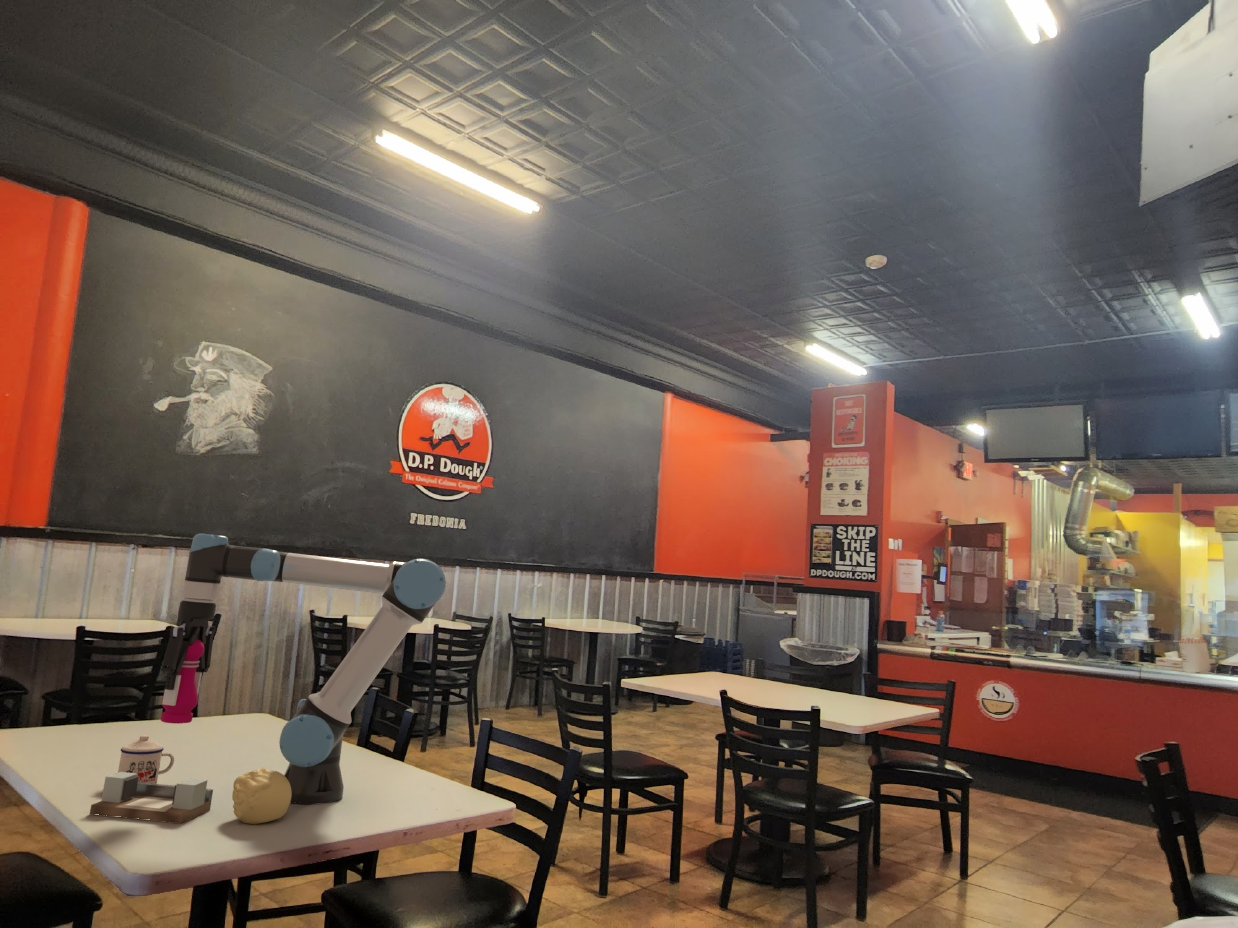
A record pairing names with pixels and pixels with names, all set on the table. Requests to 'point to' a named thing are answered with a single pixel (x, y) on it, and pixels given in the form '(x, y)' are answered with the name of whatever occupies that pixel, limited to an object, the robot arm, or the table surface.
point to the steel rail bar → (163, 791)
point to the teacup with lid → (143, 759)
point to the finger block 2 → (189, 794)
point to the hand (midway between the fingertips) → (179, 702)
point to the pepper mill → (185, 688)
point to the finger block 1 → (120, 787)
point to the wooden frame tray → (148, 809)
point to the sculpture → (261, 796)
